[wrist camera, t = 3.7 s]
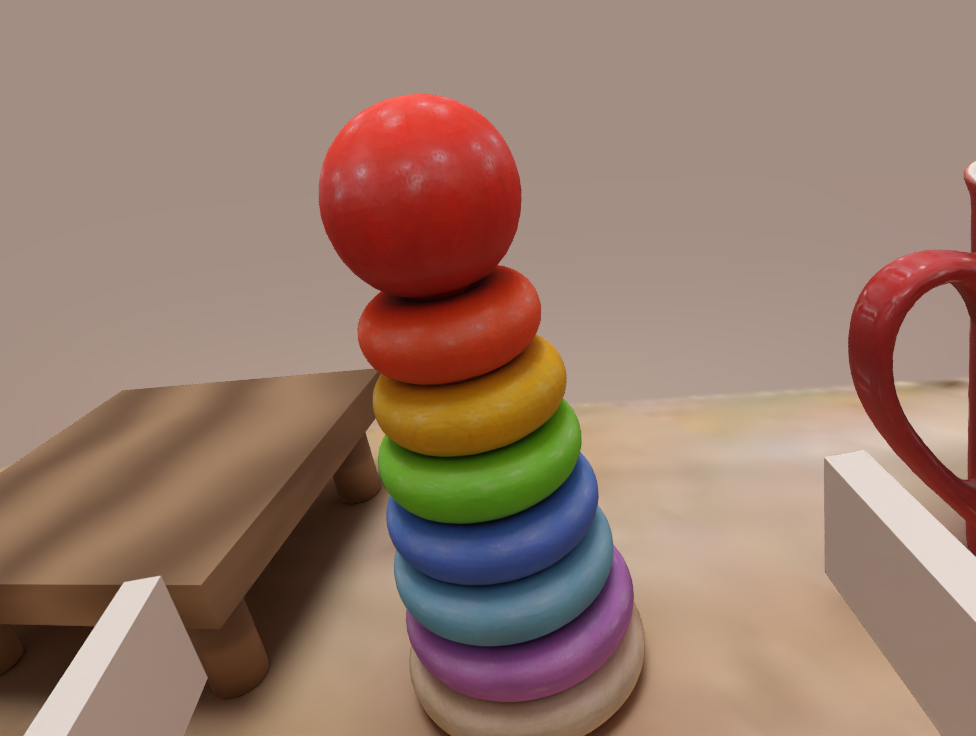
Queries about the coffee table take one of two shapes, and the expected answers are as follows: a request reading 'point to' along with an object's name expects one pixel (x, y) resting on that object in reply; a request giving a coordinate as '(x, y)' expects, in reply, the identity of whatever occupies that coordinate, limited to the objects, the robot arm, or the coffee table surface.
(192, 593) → the footstool
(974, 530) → the mug
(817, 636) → the coffee table surface
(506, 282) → the stacking toy
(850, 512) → the robot arm
